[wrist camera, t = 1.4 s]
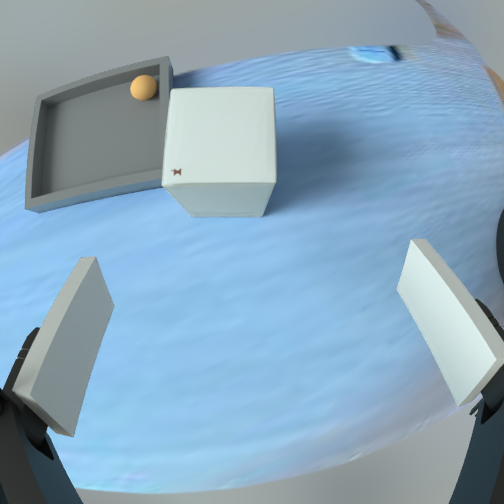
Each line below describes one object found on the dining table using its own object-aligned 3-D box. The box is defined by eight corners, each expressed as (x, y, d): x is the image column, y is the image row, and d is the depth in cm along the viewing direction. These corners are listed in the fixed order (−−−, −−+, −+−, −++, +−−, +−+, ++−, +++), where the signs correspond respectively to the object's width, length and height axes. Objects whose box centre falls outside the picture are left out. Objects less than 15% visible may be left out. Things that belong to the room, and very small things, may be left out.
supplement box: (263, 219, 31) (278, 187, 18) (189, 218, 31) (156, 187, 18) (263, 150, 31) (276, 85, 19) (193, 149, 31) (168, 86, 18)
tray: (173, 70, 31) (168, 55, 28) (178, 184, 31) (172, 176, 28) (47, 105, 31) (36, 96, 28) (39, 213, 30) (24, 209, 27)
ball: (159, 81, 30) (153, 67, 27) (159, 102, 30) (153, 88, 27) (135, 86, 30) (127, 73, 27) (134, 107, 30) (126, 94, 27)
